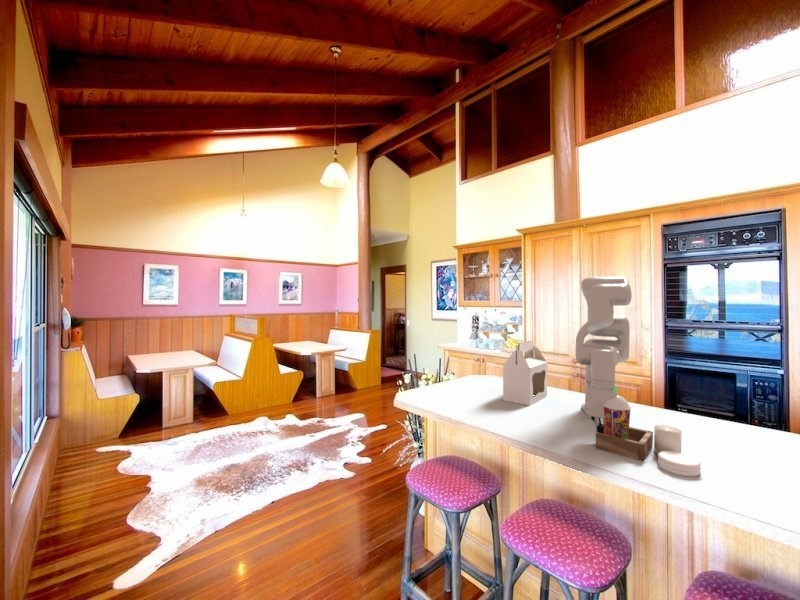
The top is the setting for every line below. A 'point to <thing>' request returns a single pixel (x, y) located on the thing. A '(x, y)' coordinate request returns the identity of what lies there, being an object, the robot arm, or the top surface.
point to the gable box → (525, 375)
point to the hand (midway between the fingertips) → (601, 437)
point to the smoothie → (617, 417)
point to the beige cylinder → (667, 439)
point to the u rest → (627, 443)
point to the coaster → (679, 463)
